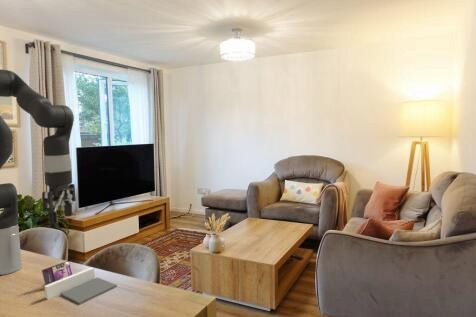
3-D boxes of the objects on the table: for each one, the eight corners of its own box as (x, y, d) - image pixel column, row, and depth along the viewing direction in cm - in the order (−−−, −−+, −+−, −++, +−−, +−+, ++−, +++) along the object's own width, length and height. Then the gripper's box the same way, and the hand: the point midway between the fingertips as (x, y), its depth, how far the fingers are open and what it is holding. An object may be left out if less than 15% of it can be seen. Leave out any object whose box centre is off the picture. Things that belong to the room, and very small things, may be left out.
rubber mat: (60, 295, 105) (60, 293, 105) (97, 279, 115) (97, 277, 115) (79, 304, 98) (79, 302, 98) (116, 286, 109) (116, 285, 109)
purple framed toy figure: (43, 269, 109) (69, 260, 116) (36, 271, 112) (62, 262, 119) (48, 289, 108) (74, 278, 115) (41, 290, 111) (67, 280, 118)
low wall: (45, 298, 103) (44, 285, 103) (92, 278, 116) (91, 267, 116) (47, 299, 102) (46, 287, 102) (94, 279, 115) (94, 268, 115)
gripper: (59, 166, 109) (62, 213, 111) (31, 172, 95) (35, 226, 97) (81, 166, 109) (84, 213, 111) (56, 172, 95) (60, 226, 97)
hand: (61, 219), depth 104 cm, fingers open, 8 cm apart
